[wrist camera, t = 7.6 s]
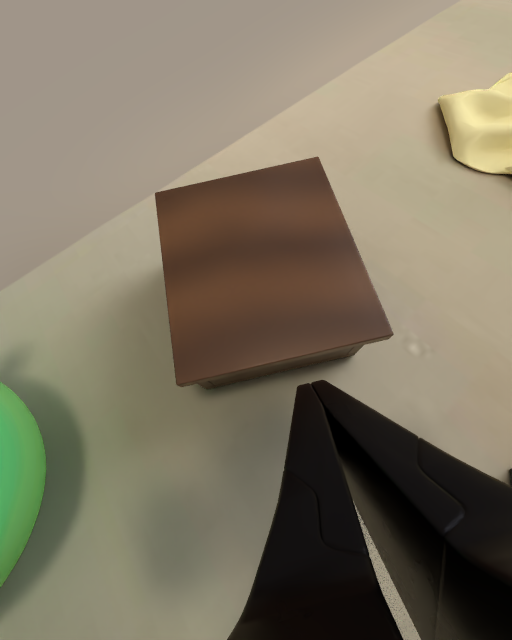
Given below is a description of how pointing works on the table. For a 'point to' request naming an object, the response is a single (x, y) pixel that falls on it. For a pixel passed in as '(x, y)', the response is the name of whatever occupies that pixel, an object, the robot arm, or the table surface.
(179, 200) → the lid
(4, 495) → the toy bird
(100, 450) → the table surface
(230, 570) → the table surface
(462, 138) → the cloth
